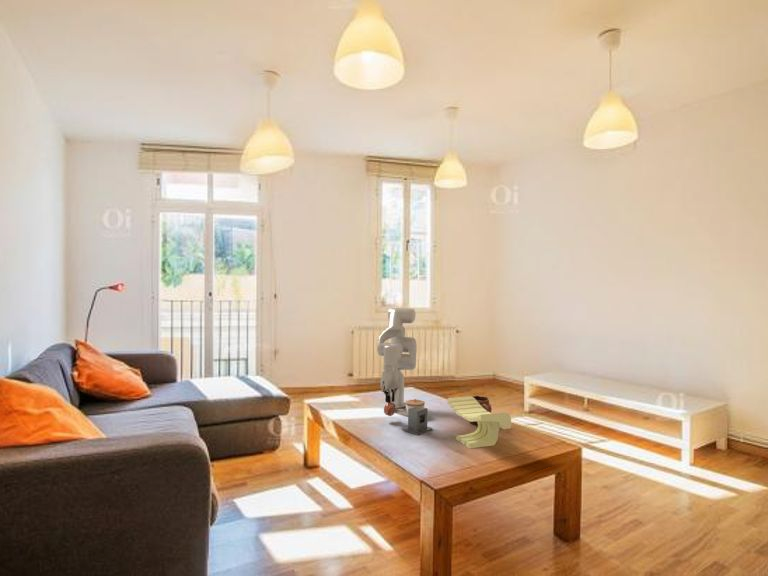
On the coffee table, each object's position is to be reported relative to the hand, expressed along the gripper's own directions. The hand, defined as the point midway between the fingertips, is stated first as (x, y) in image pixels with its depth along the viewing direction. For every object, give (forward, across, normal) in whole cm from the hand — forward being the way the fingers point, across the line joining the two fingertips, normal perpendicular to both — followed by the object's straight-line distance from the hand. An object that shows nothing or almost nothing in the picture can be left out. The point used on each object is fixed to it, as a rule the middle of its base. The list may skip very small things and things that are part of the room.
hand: (389, 401), depth 244 cm
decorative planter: (+11, -33, +36) cm, 50 cm away
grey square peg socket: (+11, 0, +20) cm, 23 cm away
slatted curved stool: (+11, -9, +50) cm, 52 cm away
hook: (+8, 0, +9) cm, 12 cm away
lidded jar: (+11, -18, +2) cm, 21 cm away
